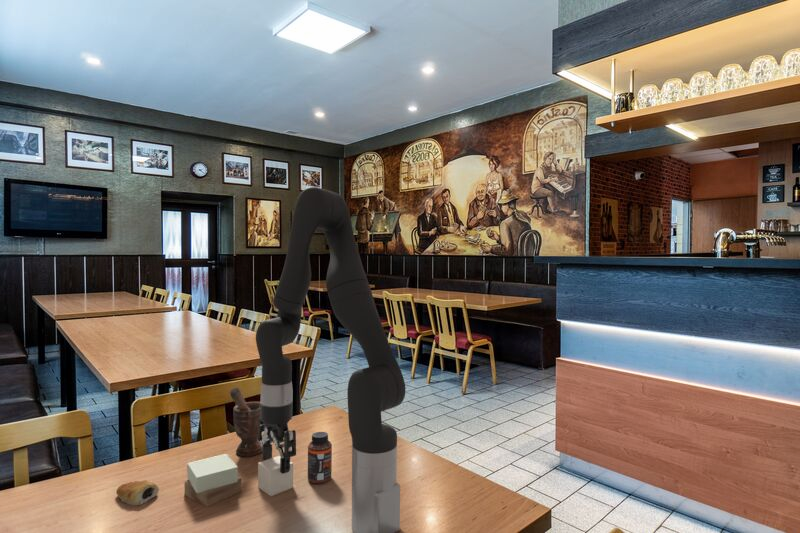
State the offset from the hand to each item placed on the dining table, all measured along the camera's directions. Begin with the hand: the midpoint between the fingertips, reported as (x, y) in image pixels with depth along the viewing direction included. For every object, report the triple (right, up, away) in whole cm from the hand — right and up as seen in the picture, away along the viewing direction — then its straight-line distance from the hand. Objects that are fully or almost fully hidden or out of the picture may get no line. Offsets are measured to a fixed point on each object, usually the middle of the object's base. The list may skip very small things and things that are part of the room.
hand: (275, 466), depth 113 cm
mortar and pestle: (-13, -5, +18) cm, 22 cm away
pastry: (-30, -5, -6) cm, 31 cm away
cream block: (0, -5, 0) cm, 5 cm away
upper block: (-14, -2, -3) cm, 15 cm away
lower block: (-14, -5, -3) cm, 15 cm away
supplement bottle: (+10, -5, +4) cm, 12 cm away
